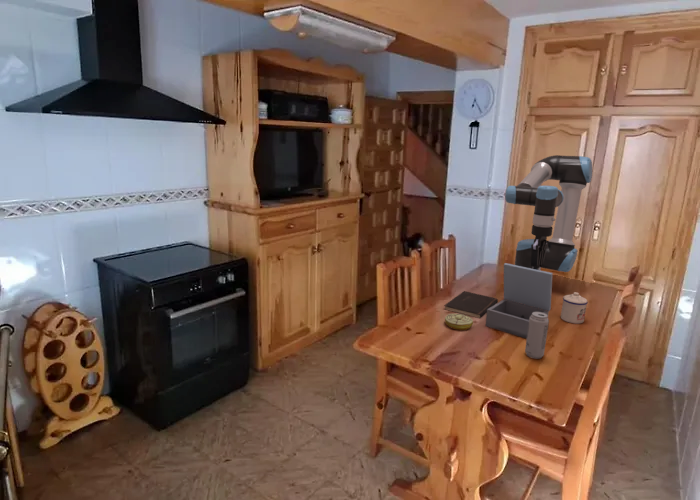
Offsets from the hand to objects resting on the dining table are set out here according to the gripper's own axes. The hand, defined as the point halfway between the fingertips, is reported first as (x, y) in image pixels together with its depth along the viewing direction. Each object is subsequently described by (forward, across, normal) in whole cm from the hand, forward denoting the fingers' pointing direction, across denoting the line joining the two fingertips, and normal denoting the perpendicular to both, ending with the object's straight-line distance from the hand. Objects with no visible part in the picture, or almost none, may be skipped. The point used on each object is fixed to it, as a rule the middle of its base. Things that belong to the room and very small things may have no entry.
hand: (534, 282), depth 185 cm
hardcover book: (+16, -7, +23) cm, 29 cm away
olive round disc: (+16, -30, +17) cm, 38 cm away
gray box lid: (0, -9, 0) cm, 9 cm away
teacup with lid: (+15, +10, -14) cm, 23 cm away
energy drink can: (+16, -34, -14) cm, 40 cm away
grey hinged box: (+15, -15, 0) cm, 21 cm away
